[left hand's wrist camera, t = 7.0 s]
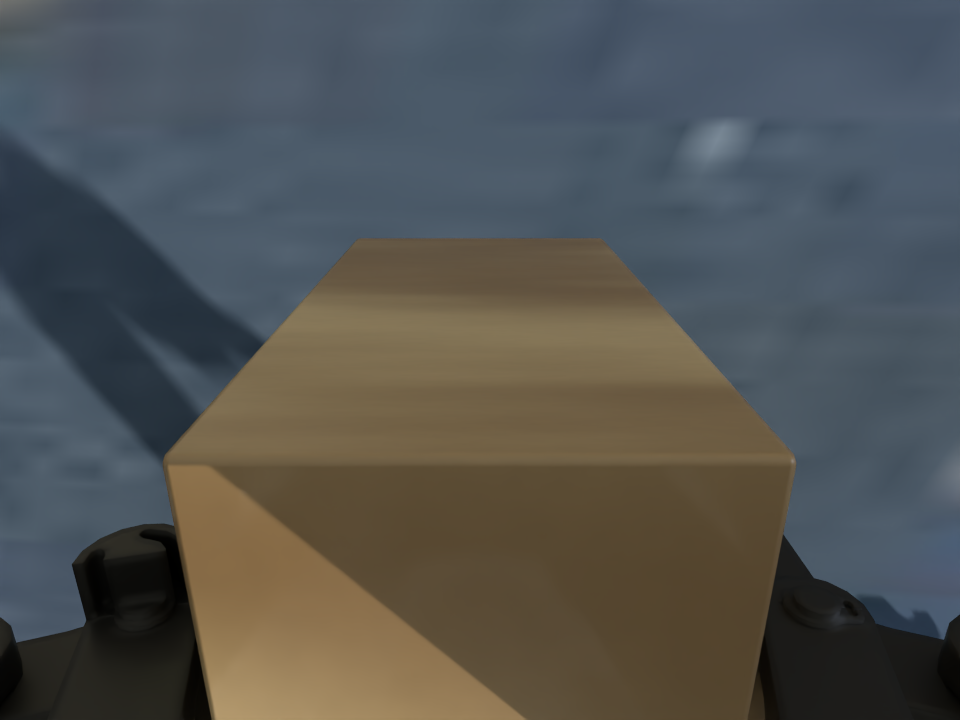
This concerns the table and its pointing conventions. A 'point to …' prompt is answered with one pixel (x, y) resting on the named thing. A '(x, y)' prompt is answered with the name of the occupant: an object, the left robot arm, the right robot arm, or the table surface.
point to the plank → (479, 500)
